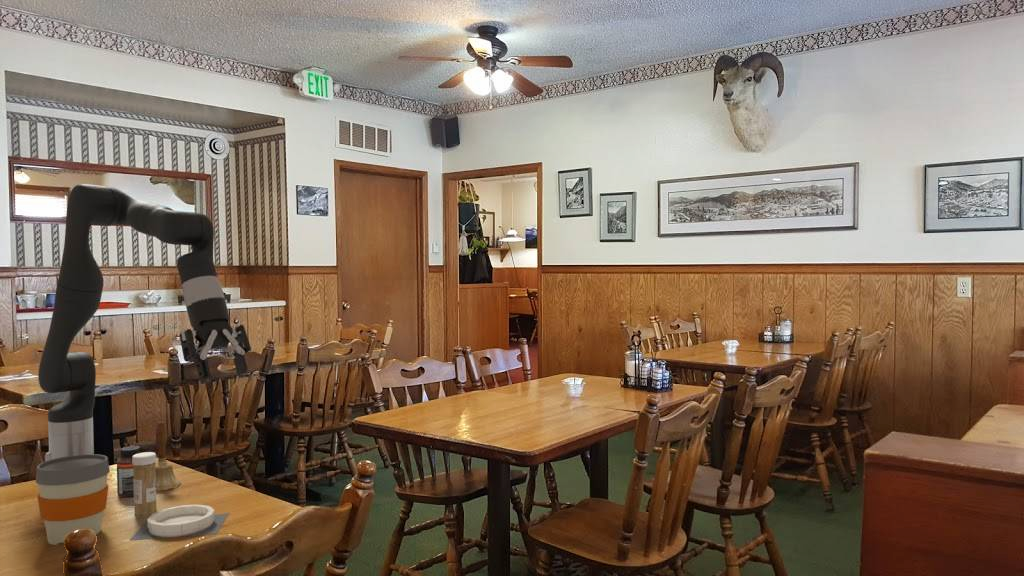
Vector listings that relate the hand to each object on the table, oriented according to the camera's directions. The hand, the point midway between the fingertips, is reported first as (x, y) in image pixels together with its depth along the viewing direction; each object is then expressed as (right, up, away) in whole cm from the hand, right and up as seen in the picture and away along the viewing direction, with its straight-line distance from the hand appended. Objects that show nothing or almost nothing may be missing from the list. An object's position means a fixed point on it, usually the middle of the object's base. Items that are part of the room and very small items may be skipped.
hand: (224, 377), depth 142 cm
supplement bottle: (-32, -31, +24) cm, 51 cm away
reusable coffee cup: (-29, -32, -2) cm, 43 cm away
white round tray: (-9, -31, +1) cm, 32 cm away
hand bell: (-28, -31, +30) cm, 52 cm away
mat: (-9, -31, +1) cm, 33 cm away
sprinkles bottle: (-21, -31, +9) cm, 39 cm away
